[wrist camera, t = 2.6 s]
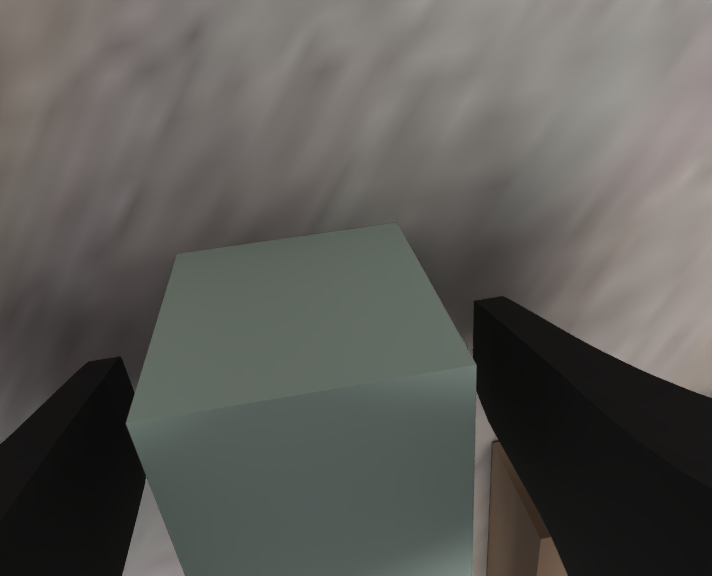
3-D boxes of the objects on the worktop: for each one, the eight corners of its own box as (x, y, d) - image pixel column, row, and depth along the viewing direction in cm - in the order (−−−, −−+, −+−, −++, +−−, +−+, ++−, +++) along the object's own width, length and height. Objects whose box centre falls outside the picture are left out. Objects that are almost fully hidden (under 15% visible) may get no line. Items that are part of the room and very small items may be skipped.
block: (223, 420, 14) (206, 628, 9) (177, 252, 11) (125, 423, 7) (406, 389, 14) (472, 575, 10) (396, 221, 12) (476, 365, 7)
